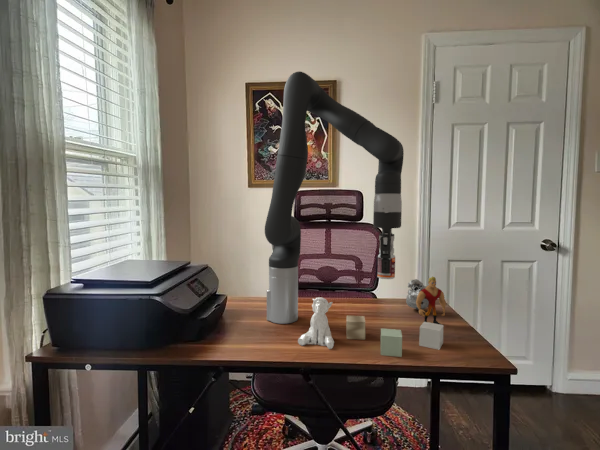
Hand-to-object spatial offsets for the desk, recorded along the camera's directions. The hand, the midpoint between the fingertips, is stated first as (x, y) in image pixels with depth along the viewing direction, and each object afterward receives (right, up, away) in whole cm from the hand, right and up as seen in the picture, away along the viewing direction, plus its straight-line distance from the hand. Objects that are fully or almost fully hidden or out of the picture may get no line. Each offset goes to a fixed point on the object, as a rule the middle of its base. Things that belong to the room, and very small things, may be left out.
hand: (386, 271), depth 99 cm
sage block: (-1, -19, -10) cm, 22 cm away
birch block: (-8, -18, +1) cm, 20 cm away
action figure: (+16, -18, +10) cm, 26 cm away
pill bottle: (0, -2, 0) cm, 2 cm away
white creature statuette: (-19, -19, -3) cm, 27 cm away
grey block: (+11, -19, -5) cm, 22 cm away
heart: (+17, -17, +22) cm, 33 cm away
